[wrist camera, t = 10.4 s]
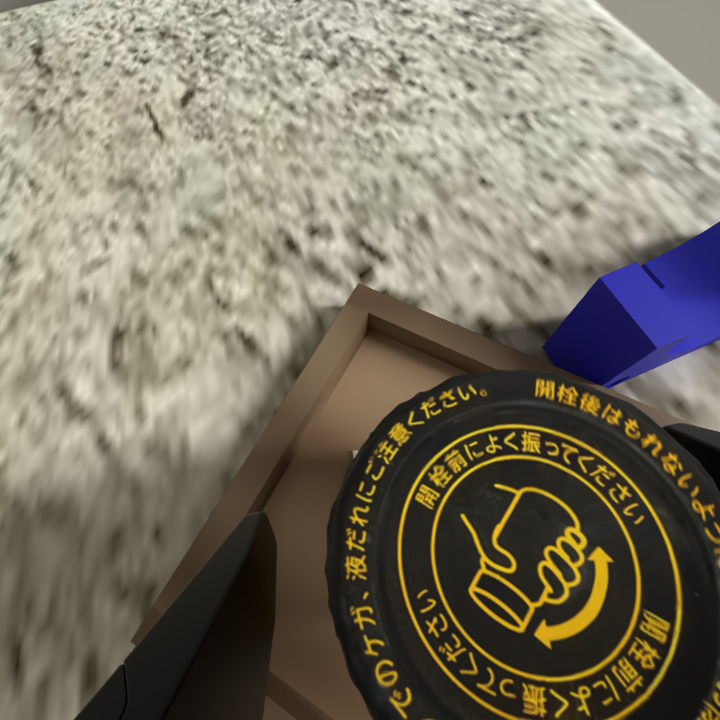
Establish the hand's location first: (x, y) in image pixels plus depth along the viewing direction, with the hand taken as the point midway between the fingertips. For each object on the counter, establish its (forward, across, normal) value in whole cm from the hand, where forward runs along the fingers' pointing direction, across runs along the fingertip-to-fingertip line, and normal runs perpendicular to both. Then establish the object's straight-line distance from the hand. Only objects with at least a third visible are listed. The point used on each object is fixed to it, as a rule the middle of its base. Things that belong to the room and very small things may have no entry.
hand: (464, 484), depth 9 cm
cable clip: (+11, -13, +2) cm, 17 cm away
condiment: (+5, -1, +7) cm, 8 cm away
